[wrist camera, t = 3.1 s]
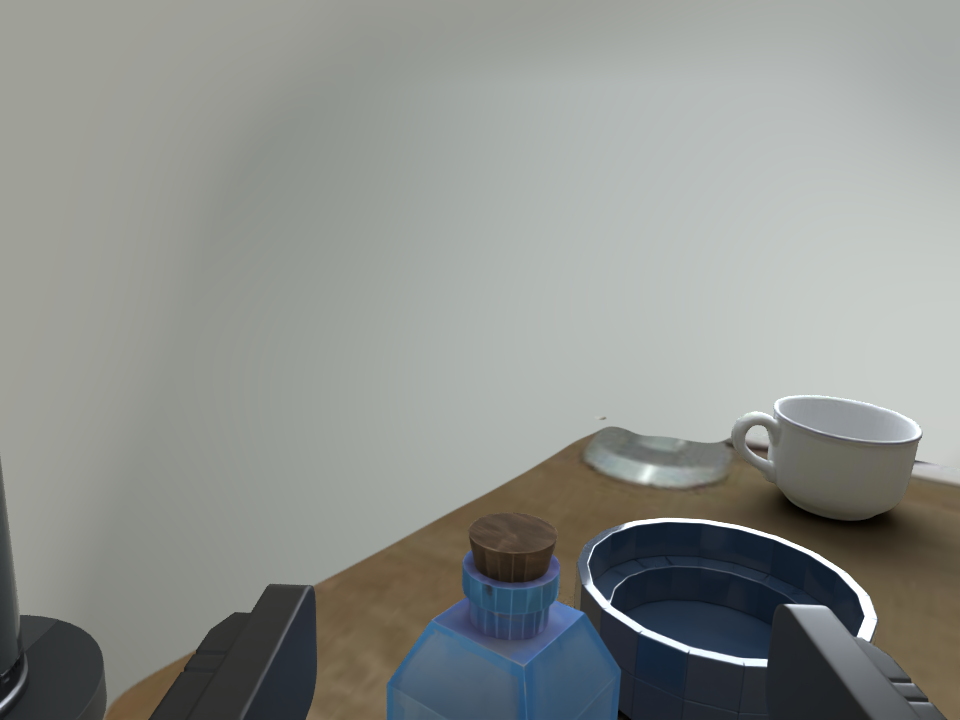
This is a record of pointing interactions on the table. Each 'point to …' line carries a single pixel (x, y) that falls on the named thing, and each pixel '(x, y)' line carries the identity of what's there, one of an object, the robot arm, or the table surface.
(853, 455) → the teacup
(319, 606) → the table surface
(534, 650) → the perfume bottle
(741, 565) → the bowl
